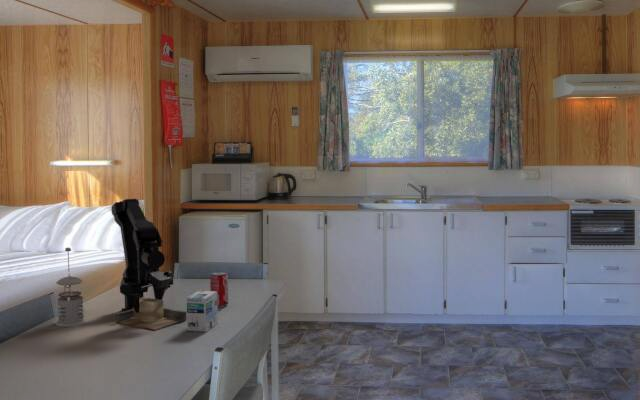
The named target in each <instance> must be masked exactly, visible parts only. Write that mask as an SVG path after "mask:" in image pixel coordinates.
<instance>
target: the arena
mask: <svg viewBox="0 0 640 400" xmlns="http://www.w3.org/2000/svg"><path fill="white" fill-rule="evenodd" d="M163 311H164V318H162V319H159V320H156V321H148V320H142V319H137V318H133V309H131V310H128V311H124V310H123V311H122V312H117V313H115V323H116V324H121V325H125V326H131V327H135V328H138V329H139V328H141V329H144V330H149V331H155V332H156V331H159V330H162V329H165V328H168V327H170V326H169V325H171V326H174V325H177V323H178V324H181V323H183V321H184V322H187V321H186V320H187V311H185V310H179V309H174V308H168V307H163ZM180 322H181V323H180ZM173 324H174V325H173ZM167 326H168V327H167ZM164 327H165V328H164ZM161 328H162V329H161Z"/></svg>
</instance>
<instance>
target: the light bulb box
mask: <svg viewBox="0 0 640 400" xmlns="http://www.w3.org/2000/svg"><path fill="white" fill-rule="evenodd" d="M218 310H219V307H218V304H217V291H211V290H197V291H196V292H193V293H192V294H191V295H189V296H187V297H186V317H187V321H186V324H187V331H189V332H204V333H205V332H206V333H207V332H209V331H210V330H211V329H212V328H214V327H216V326H217V325H218V324H219V319H218V318H219V312H218Z"/></svg>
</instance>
